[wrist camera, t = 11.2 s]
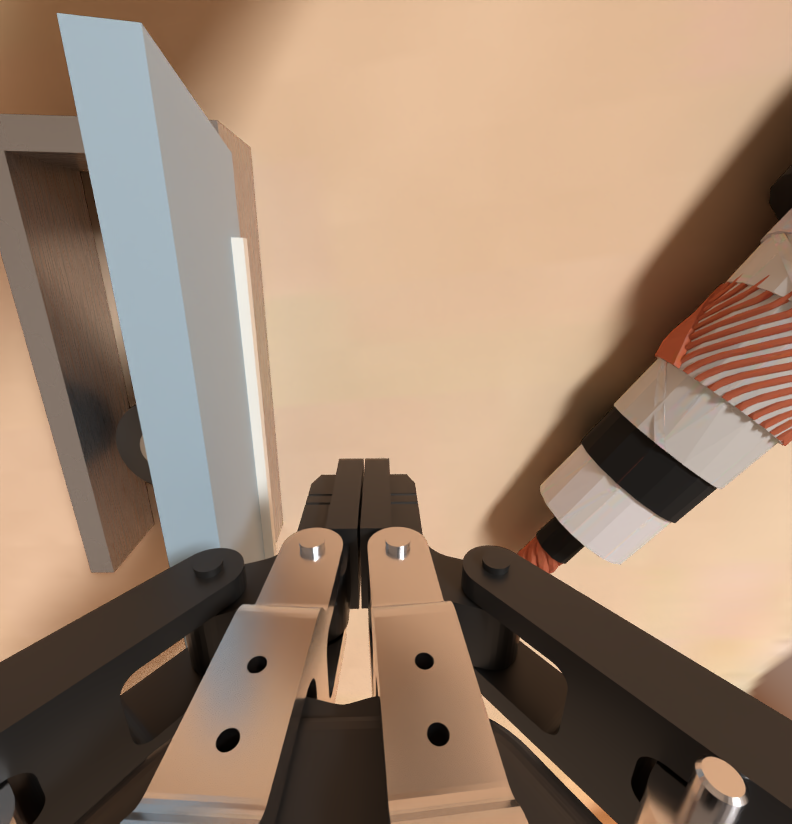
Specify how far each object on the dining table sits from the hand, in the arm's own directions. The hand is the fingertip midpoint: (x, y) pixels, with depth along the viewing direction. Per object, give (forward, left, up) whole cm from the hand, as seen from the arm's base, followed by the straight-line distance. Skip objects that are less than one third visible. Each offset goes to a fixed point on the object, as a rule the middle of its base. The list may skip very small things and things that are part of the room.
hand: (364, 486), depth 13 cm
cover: (0, -6, -2) cm, 6 cm away
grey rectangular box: (0, -10, -12) cm, 16 cm away
